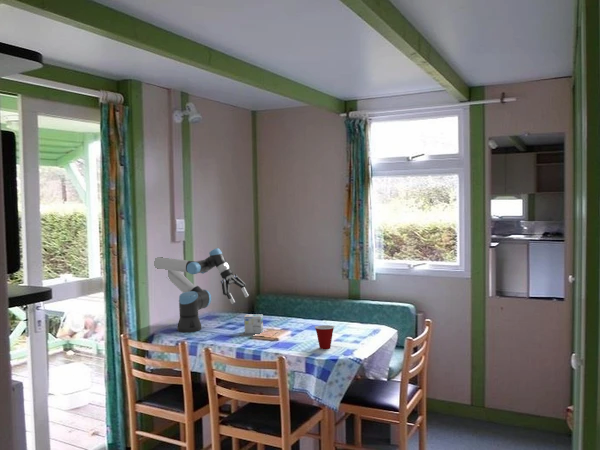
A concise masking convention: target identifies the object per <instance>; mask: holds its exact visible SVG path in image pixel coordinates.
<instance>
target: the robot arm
mask: <svg viewBox="0 0 600 450" xmlns="http://www.w3.org/2000/svg"><path fill="white" fill-rule="evenodd" d="M228 263H229V262H228V261H227V260H226V258H225V256H224V254H223V252H222V250H221V249H220V248H219V247H217V248H213V249H212V250H210V251H209V256H208V257H206V258H204V259H201V260H197V261H194V260H188V259H187V260H186V259H177V258H171V257H169V258H163V257H157V258H155V261H154V266H155V268H157V269H165V270H168V277H169V279H170V280H169V279H168V280H169V281H170V282H171V283H172V284H173V285H174V286H175V287H176V288H177V289H179V291H181V292H182V293H181V294H180V295H179V297H178V302H179V303H178V306H179V307H178V308H179V319H178V323H177V326H176V328H177V332H180V333H193V332H198V331H201V330H202V323H201V321H200V318H199V310H200V311H201V310H202V309H206V308H207V307H208V306H210V305H211V302H212V294H211V293H210V292H209V290H207V289H202V288H201V287H200V286H198V285H195V284H194V283H192V281H190V279H188V278H187V277H186V276H185V275H184V274H183V273H188V274H190V275H197V274H202V275H203V274H205V273H209V272H210V270H212V269H214V268H215V267H216V269H217V271H218V273H219V274H220V275H219V276H220V277H221V280H220V284H221V290H222V295H223V296H227V299H229V301H230V303H231V304H232V305H233V304H235V303H236V301H235V299H234V297H233V295H232V293H231V292H230V288H231V287H230V286H231V284H232V285H233V284H235V285H236V286H238V287H239V288H241V289H240V290H241V291H242V294H243V296H244V298H248V297H249V295H250V294H249V293H248V291H247V288H246V286H247V283H246V282H244V281H243V280H242V279H241V278H240V277H239V276H238V274H237V273H235V274H233V273H234V272H233V271H232V269H231V268H230V267H231V266H230V265H229V264H228Z"/></svg>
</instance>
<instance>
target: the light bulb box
mask: <svg viewBox="0 0 600 450" xmlns="http://www.w3.org/2000/svg"><path fill="white" fill-rule="evenodd" d="M243 319H244V325H243V326H244V332H245V334H260V333H262V332H263V331H264V316H263V314H262V313H261V314H259V313H258V314H257V313H256V314H254V313H253V314H252V313H250V314H248V313H247V314H245V315H244V317H243Z"/></svg>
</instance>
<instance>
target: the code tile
mask: <svg viewBox="0 0 600 450" xmlns="http://www.w3.org/2000/svg"><path fill="white" fill-rule="evenodd" d="M253 335H255V334H245V331H244V332H243V333H241V334H240V335H239V337H240V336H241V337H251V336H253Z"/></svg>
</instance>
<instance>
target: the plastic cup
mask: <svg viewBox="0 0 600 450" xmlns="http://www.w3.org/2000/svg"><path fill="white" fill-rule="evenodd" d="M314 329H315V331H316V336H317V342H318V346H319V349H320V350H330V349H331V346H332V340H333V332H334V329H335V326H334V325H331V324H330V325H328V324H326V325H323V324H322V325H316V326H314Z"/></svg>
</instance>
